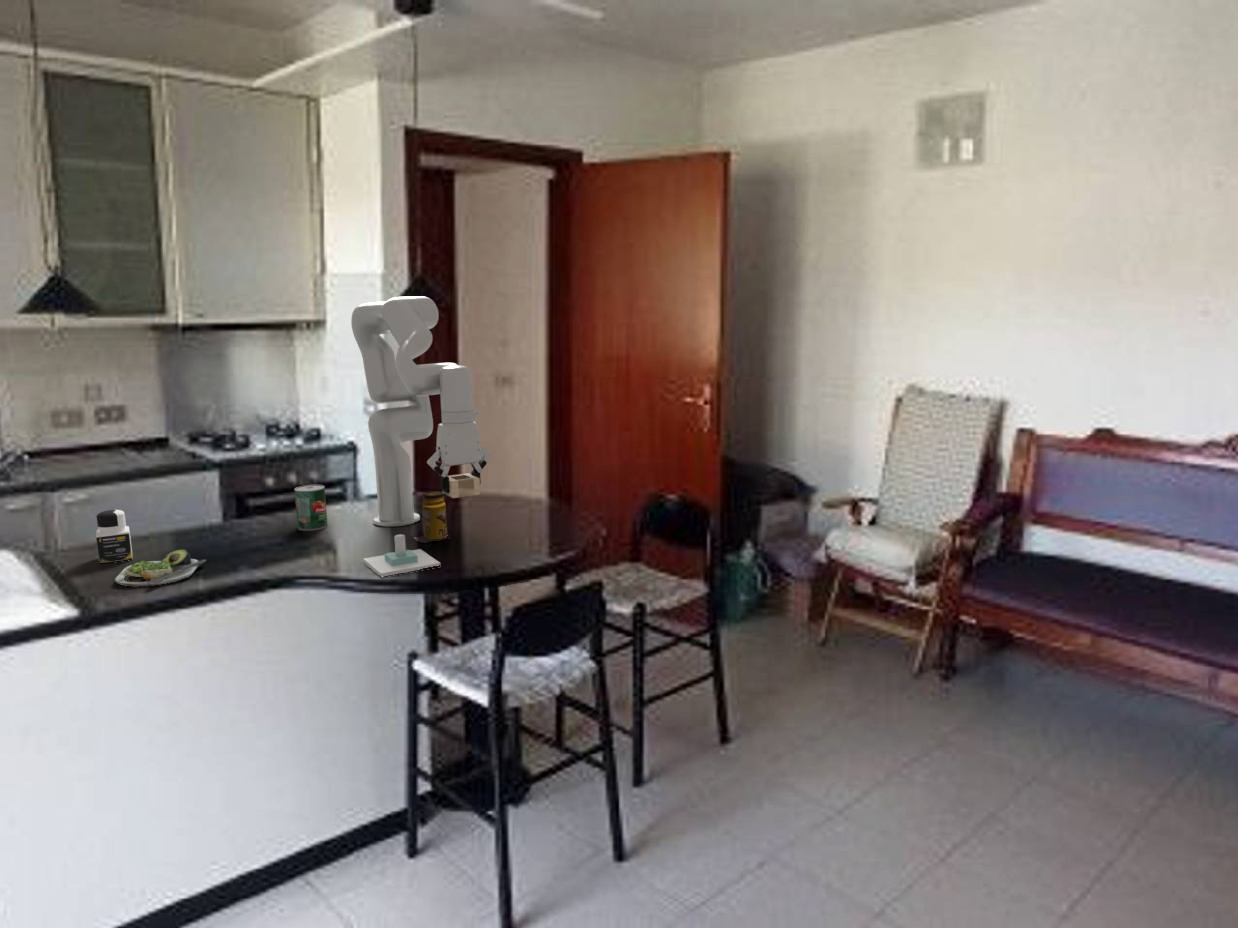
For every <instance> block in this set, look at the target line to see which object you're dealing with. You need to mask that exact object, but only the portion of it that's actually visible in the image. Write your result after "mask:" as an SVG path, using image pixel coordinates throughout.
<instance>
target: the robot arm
mask: <svg viewBox="0 0 1238 928" xmlns="http://www.w3.org/2000/svg"><path fill="white" fill-rule="evenodd" d="M439 315H440V314H439V309H438V307H437V305H436V303H435V302H434V300H433V299H431V298H430V297H427V296H423V295H421V296H398V297H397V296H395V297H392V298H390V299H388V300H386V301H377V302H376V301H375V302H367V303H362V304H360V305H357V306H355V308H354V309H353V310H352V314H351V320H350V321H351V331H352V333H353V337H354V340H355V342H356V344H357V346H358V348H359V350H360V353H361V356H362V361H363V368H364V369H363V370H364V375H365V381H366V387H367V390H368V392H367V393H368V394H369V395H368V396H369V397H370V400H371V401H372V402H373V403H375V404H395V403H405V402H407V404H408V406H397V407H396V406H394V407H387V408H382V409H378V410H376V411H373V413H371V414H370V416H369V418H368V422H367V423H368V424H367V425H368V432H369V436H370V438H371V439H370V440H371V443H372V450H373V456H374V468H375V470H374V471H375V481H376V482H375V483H376V494H377V495H376V496H377V508H378V509H377V510H378V515H377V516H375V517H374V518H373V524H374V525H376V526H378V527H402V526H407V525H408V526H409V525H412V524H415V522H416V523H417V522H419V521H420V520H421V516H420V514H419V513H417V512H414V511H415V510H414V495H413V481H412V479H413V478H412V467H411V466H412V465H411V458H410V455H409V453H408V452H407V450H406V449H405V448H404V447H403V446H402V444H401V443H405V442H411V441H417V440H424V439H427V438H429V437H430V436H431V435H432V434H433V430H434V418H433V412H432V407H431V406H432V405H431V402H430V397H429V396H434V395H440V410H441V411H440V412H441V415H440V416H441V423H439V424H437V431H436V443H435V444H436V447H435V452H434V453H433V454H432V456H430V457H429V458H428V459H427V461H426V464H427V465H428V466H429V467H430V468H431V469H432V470H433V471H434V472H435V473H437V474H438V476H439V478H440V479H439V480H440V490H443V491H444V492H445V493H449V492H450V489H449V477H448V476H449V475H448V474H449V471H450V468H451V467H452V466H462V465H470V466H471V468H472V471H471V473H470V474H471V475H473V476H475V477H478V478H480V485H481V484H482V483H481V473H482V472H483V470H484V468H485V467H486V465H487V464H488V462H489V460H490V459H491V458H492V454H491V453H490V452H489V451H487V450H486V449H484V447H482V446H481V439H480V434H479V428H478V426H477V422H476V421H475V418H476V417H479V411H478V410H474V407H473V405H474V403H473V384H472V383H473V382H472V381H473V379H472V371H471V369H470V367H468V366H466V365H459V364H457V363H455V362H435V363H433V362H432V363H423V364H422V363H421V364H416V362H414V361H413V360H414V359H415V358H417V357H420V356H421V355H423V354H424V353H425V352H427V351H428V350H429V349H430V347H431V345H432V344H433V333H432V331H430V330H431V329H433V328H434V327H435V326H437V324H438V321H439V317H440V316H439ZM381 335H392V337H394V339H395V341H396V342H397V344H398V346H399V347H398V349H397V352H396V356H395V351H394V349H393V347H392V346H391V344H389V342H388V340H386V339H385V338H384V337H383V336H381ZM436 462H437V463H439V464H441V465H440V466H438V465H437V463H436ZM443 491H442V492H443Z"/></svg>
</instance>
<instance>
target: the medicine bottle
mask: <svg viewBox="0 0 1238 928" xmlns="http://www.w3.org/2000/svg"><path fill="white" fill-rule="evenodd" d="M96 523H97V529H96V532H95V541H96V549H97V554H98V556H97V557H98V562H99V561H115V560H123V559H128V558H132V559H133V548H132V539H131V532H130V526H129V525H127V524H126V515H125V511H123V510H121V509H109V510H104V511H100V512H99V513H97V515H96Z"/></svg>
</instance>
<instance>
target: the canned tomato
mask: <svg viewBox="0 0 1238 928" xmlns="http://www.w3.org/2000/svg"><path fill="white" fill-rule="evenodd" d="M325 487H326V486H325V485H322V484H306V485H305V484H304V485H301V486H297V487H295V488H294V489H293V490H294V491H293V492H294V501H295V509H296V511H295V512H296V522H297V529H298V530H299V531H304V532H305V531H308V532H309V531H310V532H311V531H317V530H318V531H319V530H323V529H325V528H328V526H329V524H328V515H327V513H328V511H327V504H326V503H327V501H326V490H325Z"/></svg>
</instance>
